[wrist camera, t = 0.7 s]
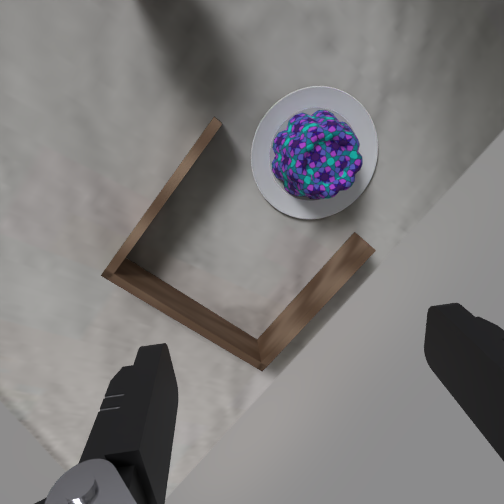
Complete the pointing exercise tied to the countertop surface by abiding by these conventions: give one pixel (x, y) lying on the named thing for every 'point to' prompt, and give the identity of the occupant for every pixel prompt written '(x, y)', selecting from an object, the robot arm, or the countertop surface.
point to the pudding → (315, 153)
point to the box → (206, 320)
